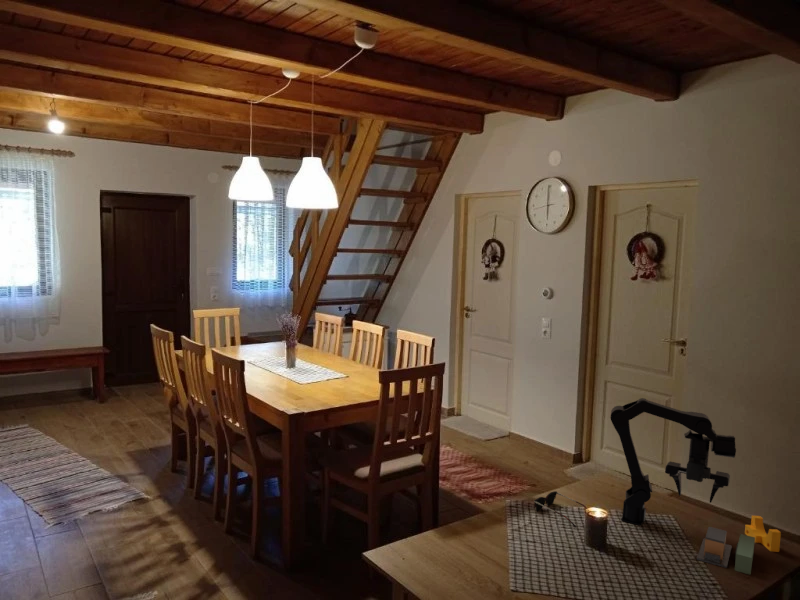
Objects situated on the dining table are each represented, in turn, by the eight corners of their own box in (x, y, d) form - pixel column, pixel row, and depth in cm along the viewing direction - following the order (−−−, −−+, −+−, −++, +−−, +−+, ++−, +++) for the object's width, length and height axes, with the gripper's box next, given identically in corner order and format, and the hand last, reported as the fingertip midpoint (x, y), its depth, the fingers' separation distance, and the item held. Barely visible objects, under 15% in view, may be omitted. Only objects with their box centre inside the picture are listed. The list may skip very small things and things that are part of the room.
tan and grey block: (703, 554, 186) (705, 537, 185) (707, 543, 193) (708, 526, 193) (722, 559, 183) (724, 541, 183) (725, 548, 191) (726, 530, 190)
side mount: (696, 559, 184) (697, 551, 184) (703, 540, 197) (704, 532, 197) (726, 568, 180) (727, 559, 179) (731, 547, 193) (732, 539, 193)
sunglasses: (554, 503, 222) (555, 490, 222) (594, 521, 211) (596, 507, 210) (532, 513, 213) (534, 499, 212) (573, 532, 201) (575, 518, 201)
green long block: (733, 569, 179) (734, 553, 178) (737, 548, 192) (738, 533, 192) (750, 574, 176) (751, 558, 176) (753, 553, 190) (755, 537, 189)
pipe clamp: (744, 534, 204) (746, 515, 203) (758, 534, 203) (759, 516, 203) (764, 551, 192) (766, 531, 191) (779, 552, 192) (780, 532, 191)
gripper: (664, 452, 200) (660, 499, 201) (728, 465, 190) (724, 514, 191) (669, 444, 209) (666, 489, 210) (731, 456, 199) (727, 503, 200)
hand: (694, 498), depth 203 cm, fingers open, 9 cm apart
